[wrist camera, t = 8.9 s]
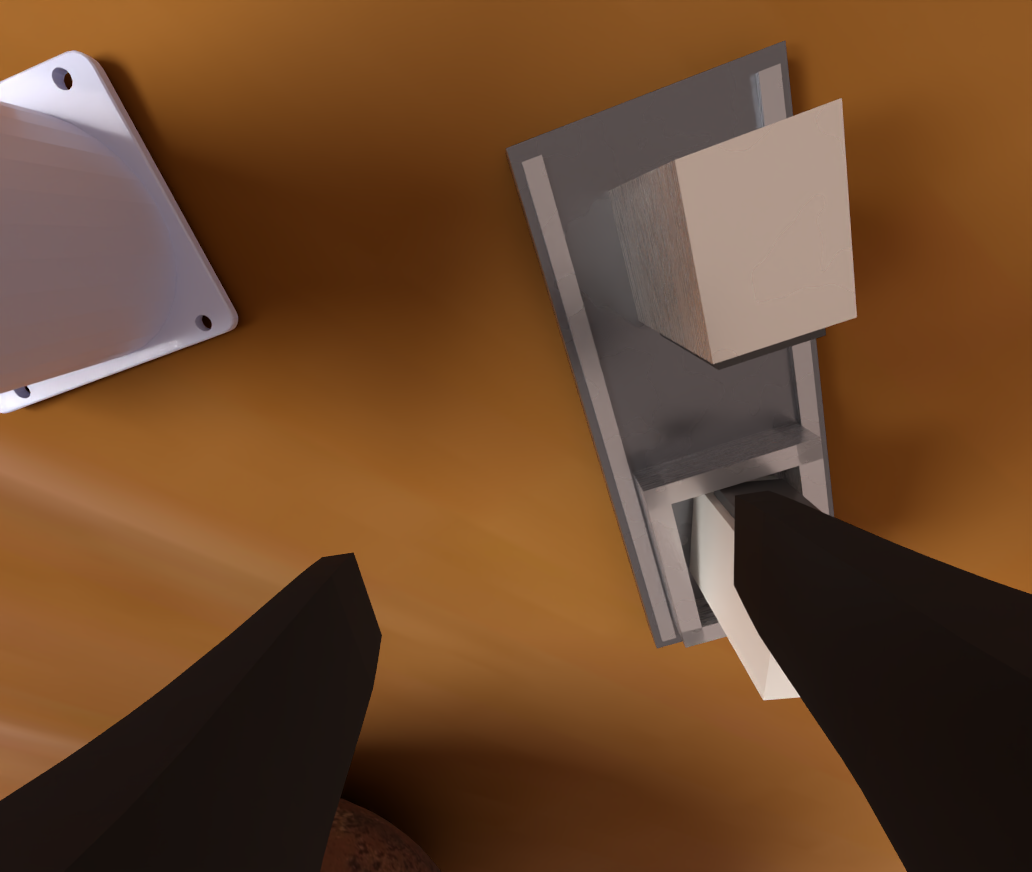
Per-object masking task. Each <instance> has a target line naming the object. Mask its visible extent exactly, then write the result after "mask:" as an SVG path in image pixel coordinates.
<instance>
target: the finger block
mask: <svg viewBox="0 0 1032 872" xmlns="http://www.w3.org/2000/svg"><path fill="white" fill-rule="evenodd" d="M761 491H771V492H774V493H777V494H780V495H783V496H785V497H788V498H790V499H793V500H795V501H798V502H800V503H802V504H805V505H807V506H809V507H812V508H814V509H816V510H819V509H818V508H817V507H816V506H814V505H813V504H812V503H811V502H810V501H809V500H807V499H806V498H805V497H804V496H803V495H802V494H800V493H799V492H798V491H797V490H796V489H794V488H793V487H792V486H791V485H790V484H789V483H787V482H786V481H785V480H784V479H779V478H778V477H776V476H775V475H772V476H763V477H760V478H756V479H753V480H750V481H746V482H743V483H740V484H737V485H733V486H730V487H727V488H723V489H720V490H717V491H713V492H710V493H707V494H703V495H700V496H697V497H694V502H693V518H692V533H691V549H690V564H689V570H690V572H691V574H692V576H693V578H694V579H695V581H696V583H697V585H698V586H699V588H700V590H701V592H702V593H703V595H704V597H705V599H706V600H707V602H708V604H709V606H710V607H711V609H712V611H713V613H714V614H715V616H716V618H717V620H718V621H719V623H720V625H721V627H722V629H723V630H724V632H725V634H726V636H727V637H728V639H729V641H730V643H731V644H732V646H733V648H734V650H735V651H736V653H737V655H738V657H739V658H740V660H741V662H742V664H743V665H744V667H745V669H746V671H747V672H748V674H749V676H750V678H751V680H752V681H753V683H754V685H755V687H756V688H757V690H758V692H759V694H760V695H761V697H762V699H763V700H772V699H784V698H796V697H800V696H799V694H798V693H797V691H796V690H795V688H794V687H793V686H792V684H791V683H790V681H789V680H788V678H787V677H786V675H785V674H784V672H783V671H782V669H781V668H780V666H779V665H778V663H777V662H776V660H775V659H774V657H773V656H772V654H771V653H770V651H769V650H768V648H767V647H766V645H765V644H764V642H763V640H762V639H761V637H760V636H759V634H758V632H757V630H756V629H755V627H754V625H753V623H752V621H751V619H750V617H749V615H748V613H747V611H746V609H745V607H744V605H743V603H742V601H741V599H740V597H739V595H738V593H737V591H736V589H735V587H734V524H735V495H741V494H748V493H755V492H761ZM819 511H820V510H819ZM821 512H822V511H821Z"/></svg>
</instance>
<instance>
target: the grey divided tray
mask: <svg viewBox="0 0 1032 872" xmlns="http://www.w3.org/2000/svg"><path fill="white" fill-rule="evenodd" d="M506 156H507V160H508V163H509V166H510V170H511V173H512V176H513V179H514V183H515V186H516V189H517V193H518V196H519V199H520V203H521V206H522V209H523V212H524V216H525V219H526V222H527V226H528V229H529V232H530V236H531V239H532V242H533V245H534V249H535V252H536V255H537V259H538V262H539V265H540V269H541V272H542V275H543V278H544V282H545V285H546V288H547V292H548V295H549V298H550V302H551V305H552V308H553V311H554V315H555V318H556V321H557V325H558V328H559V331H560V335H561V338H562V341H563V344H564V348H565V351H566V354H567V358H568V361H569V364H570V368H571V371H572V374H573V377H574V381H575V384H576V387H577V391H578V394H579V397H580V400H581V404H582V407H583V410H584V414H585V417H586V420H587V424H588V427H589V430H590V433H591V437H592V440H593V443H594V447H595V450H596V453H597V457H598V460H599V463H600V466H601V470H602V473H603V476H604V480H605V483H606V486H607V490H608V493H609V496H610V499H611V503H612V506H613V509H614V513H615V516H616V519H617V523H618V526H619V529H620V532H621V536H622V539H623V542H624V546H625V549H626V552H627V556H628V559H629V562H630V565H631V569H632V572H633V575H634V579H635V582H636V585H637V589H638V592H639V595H640V598H641V602H642V605H643V608H644V612H645V615H646V618H647V622H648V625H649V628H650V631H651V634H652V637H653V639H654V642H655V645H656V647H657V648H660V647H663V646H667V645H671V644H674V643H678V642H682V641H683V643H684V645H685V647H690V646H693V645H697V644H701V643H704V642H708V641H712V640H715V639H719V638H723V637H727V636H726V634H725V632H724V630H723V629H722V627H721V625H720V623H719V621H718V620H717V618H716V616H715V614H714V613H713V611H712V609H711V607H710V606H709V604H708V602H707V600H706V599H705V597H704V595H703V593H702V592H701V590H700V588H699V586H698V585H697V583H696V581H695V579H694V578H693V576H692V574H691V572H690V570H689V564H690V549H691V533H692V518H693V502H694V497H697V496H700V495H703V494H707V493H710V492H713V491H717V490H720V489H723V488H727V487H730V486H733V485H737V484H740V483H743V482H746V481H750V480H753V479H756V478H760V477H763V476H772V475H775V476H776V477H778V478H779V479H784V480H785V481H786V482H787V483H789V484H790V485H791V486H792V487H793V488H794V489H796V490H797V491H798V492H799V493H800V494H802V495H803V496H804V497H805V498H806V499H807V500H809V501H810V502H811V503H812V504H813V505H814V506H816V507H817V508H818V509H819V510H820V511H822V512H823V513H825V514H828V515H830V516H832V517H834V510H833V500H832V490H831V481H830V471H829V461H828V451H827V442H826V432H825V422H824V412H823V403H822V393H821V383H820V373H819V364H818V354H817V344H816V338H819V337H822V336H825V335H826V331H825V328H826V327H829V326H832V325H835V324H838V323H841V322H844V321H847V320H850V319H853V318H856V317H857V311H856V297H855V282H854V268H853V253H852V239H851V224H850V210H849V195H848V181H847V166H846V152H845V138H844V123H843V109H842V98H840V99H838V100H835V101H832V102H830V103H827V104H824V105H822V106H819V107H816V108H813V109H811V110H808V111H805V112H803V113H800V114H797V115H795V116H793V110H792V101H791V91H790V81H789V71H788V62H787V52H786V42H785V41H782V42H780V43H777V44H775V45H772V46H769V47H767V48H764V49H762V50H759V51H757V52H754V53H751V54H749V55H746V56H744V57H741V58H738V59H736V60H733V61H731V62H728V63H725V64H723V65H720V66H718V67H715V68H713V69H710V70H707V71H705V72H702V73H700V74H697V75H694V76H692V77H689V78H687V79H684V80H681V81H679V82H676V83H674V84H671V85H669V86H666V87H663V88H661V89H658V90H656V91H653V92H650V93H648V94H645V95H643V96H640V97H638V98H635V99H632V100H630V101H627V102H625V103H622V104H619V105H617V106H614V107H612V108H609V109H606V110H604V111H601V112H599V113H596V114H594V115H591V116H588V117H586V118H583V119H581V120H578V121H575V122H573V123H570V124H568V125H565V126H562V127H560V128H557V129H555V130H552V131H550V132H547V133H544V134H542V135H539V136H537V137H534V138H531V139H529V140H526V141H524V142H521V143H518V144H516V145H513V146H511V147H508V148H506Z"/></svg>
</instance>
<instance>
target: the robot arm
mask: <svg viewBox="0 0 1032 872" xmlns="http://www.w3.org/2000/svg"><path fill="white" fill-rule="evenodd" d="M67 73H69V74H70V75H71V78H72V80H73V83H72V87H71V88H70V89H69V90H68V89H67V87H66V85H65V83H64V76H65V75H66V74H67ZM203 315H205V316H207V317H208V318H209V319H210V320H211V323H212V327H211V329H209V328H207V327H206V326H205V325H204V324H203V321H202V317H203ZM237 324H238V315H237V312H236V310H235V308H234V307H233V305H232V303H231V301H230V299H229V297H228V296H227V294H226V292H225V290H224V288H223V286H222V285H221V283H220V281H219V279H218V277H217V276H216V274H215V272H214V270H213V268H212V266H211V265H210V263H209V261H208V259H207V257H206V255H205V254H204V252H203V250H202V248H201V246H200V245H199V243H198V241H197V239H196V237H195V235H194V234H193V232H192V230H191V228H190V226H189V224H188V223H187V221H186V219H185V217H184V215H183V214H182V212H181V210H180V208H179V206H178V204H177V203H176V201H175V199H174V197H173V195H172V193H171V192H170V190H169V188H168V186H167V184H166V182H165V181H164V179H163V177H162V175H161V173H160V172H159V170H158V168H157V166H156V164H155V162H154V161H153V159H152V157H151V155H150V153H149V151H148V150H147V148H146V146H145V144H144V142H143V141H142V139H141V137H140V135H139V133H138V131H137V130H136V128H135V126H134V124H133V122H132V120H131V119H130V117H129V115H128V113H127V111H126V110H125V108H124V106H123V104H122V102H121V100H120V99H119V97H118V95H117V93H116V91H115V89H114V88H113V86H112V84H111V82H110V80H109V78H108V77H107V75H106V73H105V71H104V69H103V68H102V67H101V65H100V64H99V63H98V62H97V61H96V60H95V59H93V58H92V57H91V56H88V55H86V54H84V53H82V52H78V51H75V50H73V51H67V52H65V53H63V54H60V55H58V56H56V57H54V58H52V59H49V60H47V61H45V62H43V63H40V64H38V65H36V66H34V67H31V68H29V69H27V70H25V71H23V72H20V73H18V74H16V75H14V76H11V77H9V78H7V79H5V80H2V81H0V413H9V412H12V411H15V410H18V409H20V408H23V407H26V406H29V405H31V404H34V403H37V402H39V401H42V400H45V399H48V398H50V397H53V396H56V395H58V394H61V393H64V392H66V391H69V390H72V389H75V388H77V387H80V386H83V385H85V384H88V383H91V382H94V381H96V380H99V379H102V378H104V377H107V376H110V375H113V374H115V373H118V372H121V371H123V370H126V369H129V368H131V367H134V366H137V365H140V364H142V363H145V362H148V361H150V360H153V359H156V358H159V357H161V356H164V355H167V354H169V353H172V352H175V351H177V350H180V349H183V348H186V347H188V346H191V345H194V344H196V343H199V342H202V341H205V340H207V339H210V338H213V337H215V336H218V335H221V334H224V333H226V332H229V331H231V330H233V329H234V328H235V327H236V326H237ZM24 386H27V387H28V388H29V390H30V392H31V393H29V392H28V391H27V390H26V389H25V387H24ZM734 587H735V589H736V591H737V593H738V595H739V597H740V599H741V601H742V603H743V605H744V607H745V609H746V611H747V613H748V615H749V617H750V619H751V621H752V623H753V625H754V627H755V629H756V630H757V632H758V634H759V636H760V637H761V639H762V640H763V642H764V644H765V645H766V647H767V648H768V650H769V651H770V653H771V654H772V656H773V657H774V659H775V660H776V662H777V663H778V665H779V666H780V668H781V669H782V671H783V672H784V674H785V675H786V677H787V678H788V680H789V681H790V683H791V684H792V686H793V687H794V688H795V690H796V691H797V693H798V694H799V696H800V697H801V699H802V700H803V702H804V703H805V705H806V706H807V708H808V709H809V711H810V712H811V714H812V715H813V717H814V718H815V720H816V721H817V722H818V724H819V725H820V727H821V728H822V730H823V731H824V733H825V734H826V736H827V737H828V739H829V740H830V742H831V743H832V745H833V746H834V748H835V749H836V751H837V752H838V754H839V755H840V757H841V758H842V760H843V761H844V763H845V764H846V766H847V768H848V769H849V771H850V772H851V774H852V776H853V777H854V779H855V780H856V782H857V784H858V785H859V787H860V788H861V790H862V792H863V794H864V795H865V797H866V799H867V801H868V802H869V804H870V806H871V808H872V810H873V811H874V813H875V815H876V817H877V819H878V820H879V822H880V824H881V826H882V827H883V829H884V831H885V833H886V835H887V836H888V838H889V840H890V842H891V844H892V845H893V847H894V849H895V851H896V852H897V854H898V856H899V858H900V860H901V861H902V863H903V865H904V867H905V869H906V871H907V872H1032V594H1029V593H1026V592H1023V591H1020V590H1017V589H1014V588H1011V587H1008V586H1006V585H1003V584H1000V583H997V582H994V581H991V580H988V579H986V578H983V577H980V576H977V575H975V574H972V573H970V572H967V571H964V570H962V569H959V568H956V567H954V566H951V565H949V564H946V563H943V562H941V561H938V560H935V559H933V558H930V557H927V556H925V555H923V554H920V553H918V552H915V551H913V550H910V549H908V548H905V547H903V546H900V545H898V544H895V543H893V542H891V541H888V540H886V539H883V538H881V537H879V536H876V535H874V534H872V533H869V532H867V531H865V530H862V529H860V528H858V527H855V526H853V525H851V524H848V523H846V522H844V521H841V520H839V519H837V518H835V517H832V516H830V515H828V514H825V513H823V512H821V511H819V510H816V509H814V508H812V507H809V506H807V505H805V504H802V503H800V502H798V501H795V500H793V499H790V498H788V497H785V496H783V495H780V494H777V493H774V492H771V491H761V492H755V493H748V494H741V495H735V524H734ZM381 637H382V635H381V632H380V629H379V626H378V623H377V620H376V617H375V614H374V611H373V608H372V605H371V602H370V599H369V597H368V594H367V591H366V588H365V585H364V582H363V579H362V576H361V573H360V570H359V567H358V564H357V561H356V558H355V555H354V553H348V554H341V555H334V556H328V557H322V558H321V559H319V560H318V561H317V562H315V563H314V564H312V565H311V566H310V567H309V568H307V569H306V570H305V571H304V572H303V573H301V574H300V575H299V576H298V577H297V578H295V579H294V580H293V581H292V582H291V583H289V584H288V585H287V586H286V587H285V588H284V589H282V590H281V591H280V592H279V593H278V594H277V595H276V596H274V597H273V598H272V599H271V600H270V601H269V602H267V603H266V604H265V605H264V606H263V607H262V608H260V609H259V610H258V611H257V612H256V613H255V614H253V615H252V616H251V617H250V618H249V619H248V620H246V621H245V622H244V623H243V624H242V625H241V626H239V627H238V628H237V629H236V630H235V631H234V632H233V633H231V634H230V635H229V636H228V637H227V638H225V639H224V640H223V641H222V642H220V643H219V644H218V645H217V646H215V647H214V648H213V649H212V650H211V651H209V652H208V653H207V654H206V655H204V656H203V657H202V658H201V659H199V660H198V661H197V662H196V663H194V664H193V665H192V666H191V667H189V668H188V669H187V670H186V671H184V672H183V673H182V674H181V675H180V676H178V677H177V678H176V679H175V680H173V681H172V682H171V683H170V684H168V685H167V686H166V687H165V688H163V689H162V690H161V691H159V692H158V693H157V694H155V695H154V696H153V697H151V698H150V699H149V700H147V701H146V702H145V703H143V704H142V705H141V706H139V707H138V708H137V709H135V710H134V711H133V712H131V713H130V714H129V715H127V716H126V717H124V718H123V719H122V720H120V721H119V722H117V723H116V724H115V725H113V726H112V727H110V728H109V729H107V730H106V731H105V732H103V733H102V734H100V735H99V736H98V737H96V738H95V739H93V740H92V741H91V742H89V743H88V744H86V745H85V746H83V747H82V748H81V749H79V750H78V751H76V752H75V753H73V754H72V755H70V756H69V757H67V758H66V759H64V760H63V761H61V762H60V763H58V764H57V765H55V766H54V767H52V768H50V769H49V770H47V771H46V772H44V773H43V774H41V775H40V776H38V777H36V778H35V779H33V780H32V781H30V782H29V783H27V784H26V785H24V786H23V787H21V788H19V789H18V790H16V791H15V792H13V793H12V794H10V795H9V796H7V797H6V798H4V799H2V800H1V801H0V872H320V871H321V866H322V862H323V857H324V854H325V850H326V846H327V842H328V838H329V835H330V831H331V827H332V823H333V820H334V817H335V814H336V810H337V807H338V804H339V800H340V797H341V794H342V790H343V787H344V784H345V781H346V777H347V774H348V771H349V767H350V764H351V761H352V757H353V754H354V751H355V748H356V744H357V741H358V738H359V734H360V731H361V728H362V724H363V721H364V717H365V714H366V711H367V707H368V704H369V700H370V697H371V693H372V690H373V685H374V680H375V674H376V669H377V663H378V656H379V650H380V643H381Z"/></svg>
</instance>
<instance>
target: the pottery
mask: <svg viewBox="0 0 1032 872" xmlns="http://www.w3.org/2000/svg"><path fill="white" fill-rule="evenodd" d="M320 872H441V871H440V870H439V868H438V867H437V865H436V864H435V863H434V862H433V861H432V860H431V858H430V857H429V856H428V855H427V854H426V853H425V852H424V850H423V849H422V848H421V847H420V846H419V845H418V844H417V843H415V842H414V841H413V840H412V839H411V838H410V837H408V836H407V835H406V834H405V833H403V832H402V831H401V830H399V829H398V828H397V827H395V826H394V825H393V824H391V823H390V822H389V821H387V820H385V819H384V818H382V817H380V816H378V815H377V814H375V813H373V812H371V811H369V810H367V809H365V808H363V807H360V806H358V805H356V804H353V803H351V802H349V801H347V800H344V799H341V798H340V800H339V804H338V807H337V810H336V814H335V817H334V820H333V823H332V827H331V831H330V835H329V838H328V842H327V846H326V850H325V854H324V857H323V862H322V866H321V871H320Z"/></svg>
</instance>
